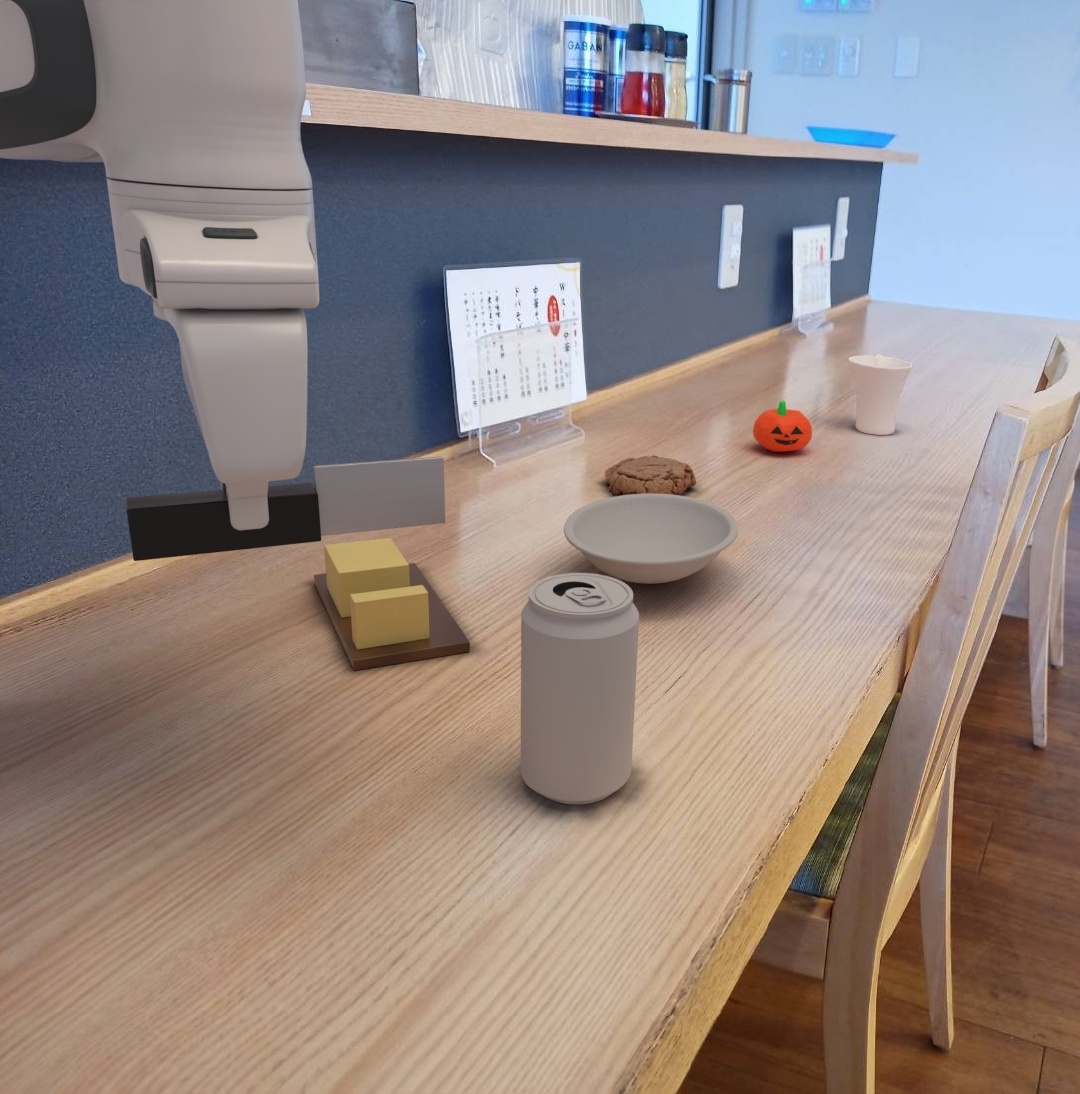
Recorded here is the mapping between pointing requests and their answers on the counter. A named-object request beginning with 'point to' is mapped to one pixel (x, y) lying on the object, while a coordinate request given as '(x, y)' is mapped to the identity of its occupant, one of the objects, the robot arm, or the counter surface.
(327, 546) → the butter
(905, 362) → the cup
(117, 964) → the counter surface
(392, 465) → the knife
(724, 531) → the dish
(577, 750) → the beverage can
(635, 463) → the cookie
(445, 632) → the butter board
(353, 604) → the butter slice
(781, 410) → the pumpkin
